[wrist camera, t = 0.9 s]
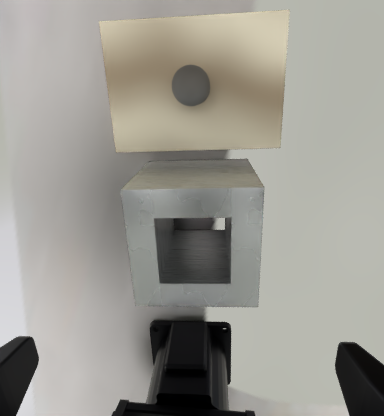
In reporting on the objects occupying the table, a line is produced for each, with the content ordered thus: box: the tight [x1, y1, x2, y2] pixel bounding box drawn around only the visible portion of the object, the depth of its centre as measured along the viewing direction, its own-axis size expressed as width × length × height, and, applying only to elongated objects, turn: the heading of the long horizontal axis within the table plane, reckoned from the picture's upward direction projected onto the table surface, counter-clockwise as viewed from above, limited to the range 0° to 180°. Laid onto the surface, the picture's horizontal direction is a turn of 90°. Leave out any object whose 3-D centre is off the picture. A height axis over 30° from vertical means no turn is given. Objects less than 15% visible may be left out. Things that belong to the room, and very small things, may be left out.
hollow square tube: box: [120, 159, 264, 307], centre depth 17 cm, size 6×6×6 cm
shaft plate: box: [99, 10, 290, 153], centre depth 15 cm, size 7×10×5 cm
